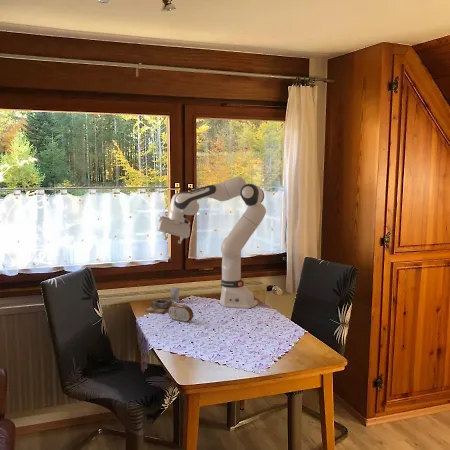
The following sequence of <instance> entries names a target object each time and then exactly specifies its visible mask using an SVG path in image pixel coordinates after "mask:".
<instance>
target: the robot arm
mask: <svg viewBox="0 0 450 450" xmlns="http://www.w3.org/2000/svg"><path fill="white" fill-rule="evenodd" d="M237 197H241V199H242V201H243V202H244V204H245V205H246V206H247V208H246V209H245V211H244V213H243V214H242V215H241V217H240V218H239V219H238V220H237V222H236V224H235V225H234V226H233V227H232V229H231V231H230V232H229V233H228V235H227V237H225V238H224V239H223V241H222V243H221V246H220V252H221V253H222V254H221V255H222V258H221V280H220V281H221V282H220V286H221V287H220V288H221V293H220V299H219V304H220V305H222V306H223V307H224V308H238V309H239V308H240V309H252V308H254V307H255V306H257V305H258V300H255V297H254V293H253V292H252V291H251V290H250V289H249V288H247V287H246V286H245V284H244V283H245V280H242V272H241V271H242V269H241V268H242V267H241V265H242V261H241V260H242V250H243V248H244V247H245V246H246V244H247V243H248V241H249V239H251V237H252V235H253V234H254V232H255V231H256V230H257V229H258V227H259V226H260V224H261V223H262V221H263V220H264V218H265V215H266V214H267V209H266V208H267V207H265V205H264V204H263V201H264V199H265V192H264V191H263V189H262V188H260V187H259V185H256V184H253V183H247V182H246V180H245V179H244V178H243V177H242V176H241V177H240V176H236V177H233V178H229V179H227V180H224V181H221V182H219V183H214V184H208V185H205V186H201V187H198V188H195V189H192V190H188V191H180V192H179V193H176V194H173V196H172V198H171V200H170V204H169V213H168V217H167V216H164V215H162V216H159V217H158V218H159V220H158V225H157V231H159V232H161V233H162V236H163V240H164V241H167V240H168V236H167V234H169V235H173V236H175V237H179V240H177V244H182V241H183V240H184V239H188V238H189V237H190V236H191V235H190V234H191V227H190V225H191V222H190V221H189V220H188V219H187V218H185V217H184V216H185V215H186V216H194V215H196V214H197V213H198V212H199V210H200V204H199V202H198V200H202V199H205V198H206V199H208V198H209V199H213V200H216V201H218V202H227V201H229V200H233V199H234V198H237Z"/></svg>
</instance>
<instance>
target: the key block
mask: <svg viewBox="0 0 450 450" xmlns="http://www.w3.org/2000/svg"><path fill="white" fill-rule="evenodd" d="M169 290H170V300H171V301H172V303H174V302H177V303H179V302H180V288H179V287H177V286H176V287H175V286H172V287H170V289H169ZM178 301H179V302H178Z"/></svg>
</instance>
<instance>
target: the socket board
mask: <svg viewBox="0 0 450 450" xmlns="http://www.w3.org/2000/svg"><path fill="white" fill-rule="evenodd" d="M150 303H151V304H150V307H148V308H146V309H145V310H144V312H145V313H150V314H151V313H152V314H159V315H164V314H165V313H167V312H168V308H169V307H170V306H171V305H173V304H177V303H174V302H172V301H171V299H162V298H158V299H155V300H153V301H151V302H150Z"/></svg>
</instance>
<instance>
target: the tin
mask: <svg viewBox="0 0 450 450" xmlns="http://www.w3.org/2000/svg"><path fill="white" fill-rule="evenodd" d="M193 311H194V310H192V308H191V307H190V306H188V305H184V304H179V303H176V304H173V305H171V306H170V307H169V308H168V311H167V312H168V316H169V317H170V318H171V319H172V320H174V321H178V322H184V323H187V322H191V321H192V320H193V317H194V312H193Z"/></svg>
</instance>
